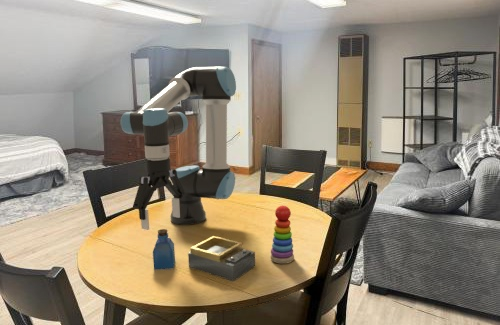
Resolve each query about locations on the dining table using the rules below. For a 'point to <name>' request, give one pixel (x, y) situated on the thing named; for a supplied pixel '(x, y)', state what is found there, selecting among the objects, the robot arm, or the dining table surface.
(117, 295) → the dining table surface
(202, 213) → the robot arm
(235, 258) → the gray gold-framed box
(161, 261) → the perfume bottle
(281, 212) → the stacking toy
